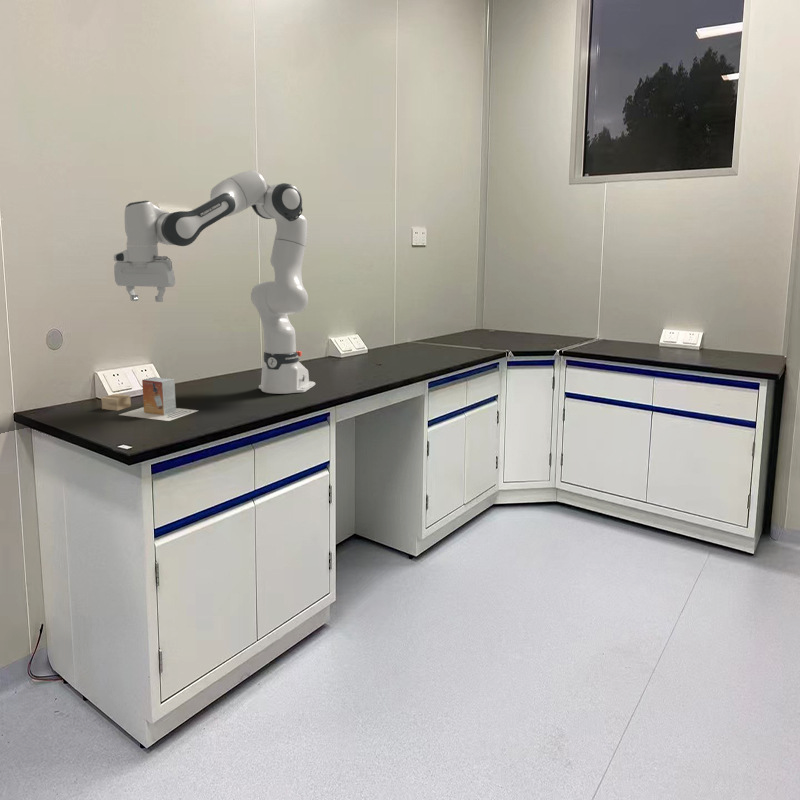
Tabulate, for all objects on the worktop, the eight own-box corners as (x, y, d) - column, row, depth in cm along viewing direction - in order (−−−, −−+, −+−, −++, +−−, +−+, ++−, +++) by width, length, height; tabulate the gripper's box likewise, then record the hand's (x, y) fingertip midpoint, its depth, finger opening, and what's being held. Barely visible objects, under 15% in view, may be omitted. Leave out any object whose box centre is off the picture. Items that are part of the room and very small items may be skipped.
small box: (143, 412, 203) (141, 379, 201) (156, 409, 208) (154, 376, 206) (164, 415, 200) (161, 381, 198) (176, 411, 205) (174, 378, 203)
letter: (150, 405, 213) (150, 404, 213) (198, 411, 207) (198, 410, 207) (118, 415, 201) (118, 414, 200) (168, 421, 194) (168, 420, 194)
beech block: (116, 406, 213) (115, 394, 212) (131, 407, 211) (130, 395, 210) (102, 410, 208) (101, 397, 207) (117, 411, 206) (116, 399, 205)
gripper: (177, 256, 200) (181, 301, 203) (123, 255, 207) (127, 299, 210) (164, 256, 194) (167, 303, 198) (109, 255, 201) (113, 301, 204)
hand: (146, 301), depth 204 cm, fingers open, 8 cm apart
